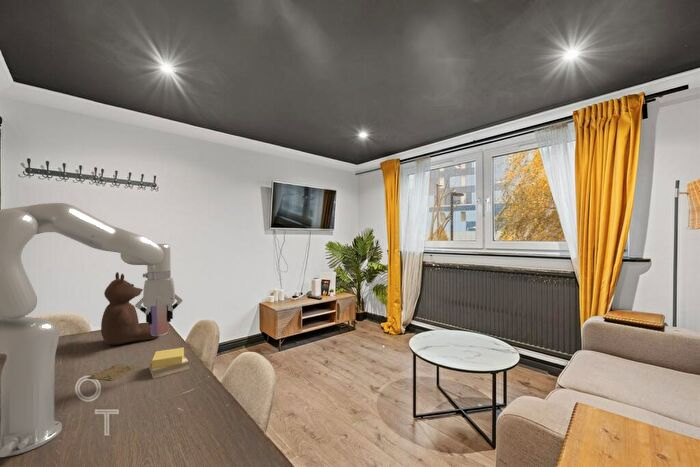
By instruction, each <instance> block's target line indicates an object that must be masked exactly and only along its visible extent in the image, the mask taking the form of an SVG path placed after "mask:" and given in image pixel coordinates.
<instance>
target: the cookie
mask: <svg viewBox="0 0 700 467" xmlns="http://www.w3.org/2000/svg"><path fill="white" fill-rule="evenodd" d="M140 368H141V366H138V365H127V364H123V363H120V364H118V363H117V364H115V365H112V366H110V367H108V368H105V369H104V370H101V371H100V372H97V373H95V374H91V375H89V376H88V377H87V379H90V380H99V381H108V382H110V381H111V382H114V381H116V380H118V379H120V378H122V377H124V376H126V375H127V374H128V375H129V374H130V373H133V372H134V371H136V370H139V369H140Z"/></svg>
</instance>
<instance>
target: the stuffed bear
mask: <svg viewBox="0 0 700 467" xmlns="http://www.w3.org/2000/svg"><path fill="white" fill-rule="evenodd" d="M114 277H115V279H114V280H112V281H110V283H109V284H108V286H107V287H106V288H105V290H104V297H105V299H106V300H107V301H108V302H109V304H108V305H106V307H105V309H104V311H103V314H102V318H101V322H100V323H101V324H100V327H101V328H100V333H101V336H102V339H103V340H104V341H105V342H106V343H107V344H109V345H116V346H117V345H118V346H119V345H124V344H128V343H134V342H135V343H136V342H143V341H150V340H156V339H159V337H160V336H152V335H151V332H150V325H148V322H141V323H140V321H139V316H138V312H137V308H136V307H135V305H134V304H132V303H131V302H130V301H132V300H133V299H135V298H136V297H139V296H140V295H141V294H142V292H143V291H144V288H139V287H135V285H134V284H133V283H130V282H129V281H127V280H125V274H124V273H121V274H120V273H119V272H117V271H116V273H115V276H114Z"/></svg>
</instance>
